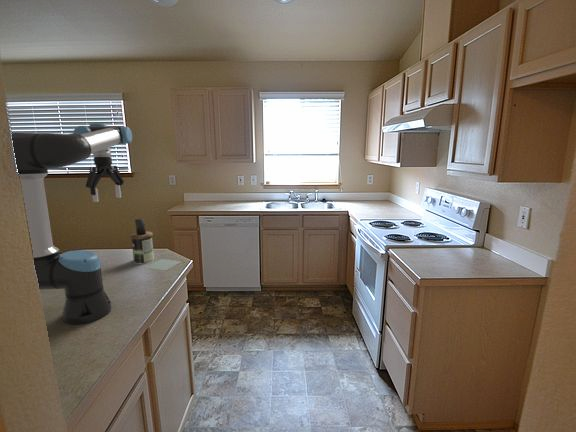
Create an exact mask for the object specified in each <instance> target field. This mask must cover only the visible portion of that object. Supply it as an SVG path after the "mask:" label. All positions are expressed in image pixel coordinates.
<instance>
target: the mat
mask: <svg viewBox="0 0 576 432" xmlns="http://www.w3.org/2000/svg"><path fill="white" fill-rule="evenodd" d="M181 262H182V260H181V261H179V260H172V259H166V258H165V259H164V258H160V259H158V260H157V261H154V262H151V264H148V265H146V266H144V269H151V270H152V269H154V270H161V271H167V270H169V269H171V268H172V267H175V266H176V265H178V264H180V263H181Z"/></svg>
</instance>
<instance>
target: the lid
mask: <svg viewBox="0 0 576 432" xmlns="http://www.w3.org/2000/svg"><path fill="white" fill-rule="evenodd" d="M134 221H135V223H134V224H135V230H136V231H135V232H132V233H130V235H129V239H144V238H149V237H151V236H152V237H153V234H154V233H153V232H152V231H147V230H146V222H145V218H143V217H142V218H136V219H135V220H134Z"/></svg>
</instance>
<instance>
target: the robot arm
mask: <svg viewBox="0 0 576 432" xmlns="http://www.w3.org/2000/svg"><path fill="white" fill-rule="evenodd" d="M72 132H73V133H67V134H66V133H52V132H51V133H50V132H37V133H36V132H10V133H11V134H12V140H13V147H14V153H15V158H16V164H17V169H18V173H19V176H20V181H21V185H22V191H23V197H24V203H25V209H26V215H27V221H28V227H29V232H30V238H31V244H32V250H33V257H34V265H35V270H36V274H37V278H38V283H39V289H40V291H43V290H64V295H65V301H64V302H65V303H64V306H63V311H62V319H63V322H64V323H66V324H70V325H83V324H87V323H92V322H95V321H97V320H99V319H102V318H104V317H105V316H107V315H108V314H109V313H110V312H111V311H112V308H113V307H112V301H111V300H110V299H109V297H108V295H107V294H106V292H105V290H104V289H105V288H104V282H103V275H102V264H101V261H100V256H99V255H98V254H97V252H94V251H92V250H87V249H85V250H84V249H76V250H70V251H69V250H68V251H65V252H63V253H61V252H60V248H58V247H56V246H55V245H54V242H53V241H54V240H53V233H52V229H51V222H50V217H49V216H50V215H49V209H48V201H47V195H46V188H45V180H44V179H45V177H47V176H48V175H49V172H48V171H49V170H50V169H51V170H52V169H59V168H64V167H68V166H71V165H74V164H77V163H80V162H83V161H85V160H87V159H88V158H90V156H91V155H92V156H93V163H94V165H95V167H94V166H90V167H89V173H88V176H87V180H86V183H85V188H88V189H90V194H91V196H92V202H94V203H98V202H99V201H100V199H99V193H98V188H97V186H98V184H99V182H100V180H101V179H102V177H105V176H108V177H109V178H110V179H111V181H113V182H114V183H115V185H114V190H115V191H114V192H115V197H116V198H118V199H121V198H122V185H124V183H125V181H124V179H123V178H122V175H121V174H120V172H119V169H118V166H117V165H112V164H113V160H112V156H111V155H112V152H111V151H112V150H111V147H113V146H116V145H117V146H118V145H120V144H121V145H126V144H131V143H132V141H133V133H132V130H131V129H130V127H128V126H122V125H120V126H108V125H107V124H106V123H101V122H100V123H98V122H92V123H90V124H89V126H87V125H78V126H77V127H75V128H74V129H73V131H72Z"/></svg>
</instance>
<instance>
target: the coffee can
mask: <svg viewBox="0 0 576 432" xmlns="http://www.w3.org/2000/svg"><path fill="white" fill-rule="evenodd" d="M130 239H131V238H130ZM153 242H154V241H153V236H151V237H149V238H144V239H131V249H132V256H133V257H132V258H133V263H134V264H135V265H136V264H139V265H142V264H149V263H153V261H154V260H155V255H154V246H153V244H154V243H153Z"/></svg>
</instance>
